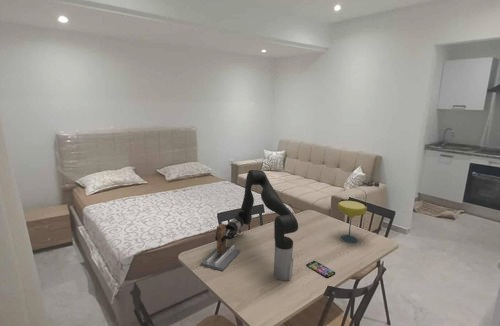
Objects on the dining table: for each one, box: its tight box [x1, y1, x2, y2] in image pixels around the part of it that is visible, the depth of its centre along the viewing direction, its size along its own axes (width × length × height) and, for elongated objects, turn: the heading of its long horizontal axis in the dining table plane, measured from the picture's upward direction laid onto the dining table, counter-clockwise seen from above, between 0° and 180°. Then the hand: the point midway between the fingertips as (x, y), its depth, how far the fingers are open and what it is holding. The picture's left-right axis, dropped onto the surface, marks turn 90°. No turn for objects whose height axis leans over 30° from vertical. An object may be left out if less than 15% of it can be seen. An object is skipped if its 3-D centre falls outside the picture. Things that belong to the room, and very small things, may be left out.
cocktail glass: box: [337, 199, 368, 244], centre depth 186 cm, size 18×18×25 cm
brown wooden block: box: [216, 223, 227, 254], centre depth 160 cm, size 3×5×16 cm, turn 157°
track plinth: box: [200, 242, 241, 272], centre depth 162 cm, size 14×22×4 cm, turn 157°
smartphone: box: [306, 260, 336, 279], centre depth 153 cm, size 8×1×15 cm
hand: (218, 239), depth 157 cm, fingers closed on brown wooden block, 3 cm apart
